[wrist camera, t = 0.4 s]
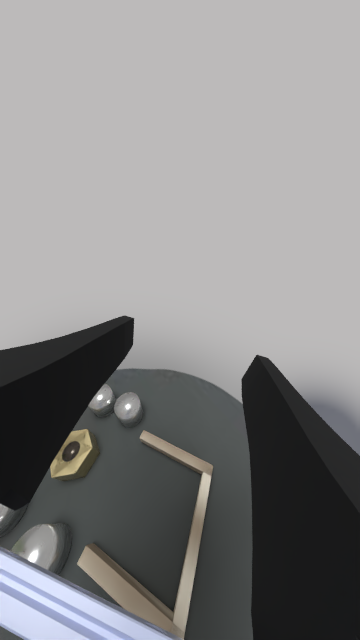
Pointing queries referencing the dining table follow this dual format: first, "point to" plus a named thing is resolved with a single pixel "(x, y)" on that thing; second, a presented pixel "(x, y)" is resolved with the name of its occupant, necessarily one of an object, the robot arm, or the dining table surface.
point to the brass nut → (75, 456)
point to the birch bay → (151, 607)
